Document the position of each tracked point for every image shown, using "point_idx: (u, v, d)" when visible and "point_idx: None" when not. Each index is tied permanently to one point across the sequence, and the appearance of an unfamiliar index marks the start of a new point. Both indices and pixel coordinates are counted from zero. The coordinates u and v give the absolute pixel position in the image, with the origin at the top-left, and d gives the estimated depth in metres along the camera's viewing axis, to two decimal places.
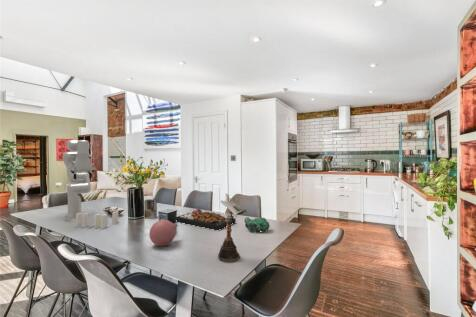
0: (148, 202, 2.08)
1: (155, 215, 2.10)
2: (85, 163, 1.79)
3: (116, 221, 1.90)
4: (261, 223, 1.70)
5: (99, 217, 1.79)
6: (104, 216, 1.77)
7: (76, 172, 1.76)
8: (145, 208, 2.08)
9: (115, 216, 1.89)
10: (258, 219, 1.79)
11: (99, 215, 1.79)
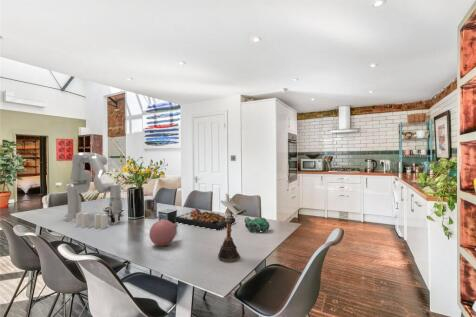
0: (148, 202, 2.08)
1: (155, 215, 2.10)
2: None
3: (116, 221, 1.90)
4: (261, 223, 1.70)
5: (99, 217, 1.79)
6: (104, 216, 1.77)
7: None
8: (145, 208, 2.08)
9: (115, 216, 1.89)
10: (258, 219, 1.79)
11: (99, 215, 1.79)
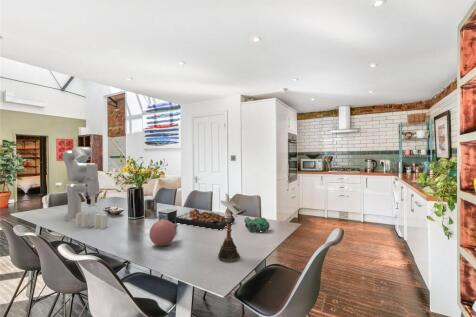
0: (148, 202, 2.08)
1: (155, 215, 2.10)
2: None
3: (92, 203, 1.79)
4: (261, 223, 1.70)
5: (99, 217, 1.79)
6: (104, 216, 1.77)
7: None
8: (145, 208, 2.08)
9: (91, 198, 1.79)
10: (258, 219, 1.79)
11: (99, 215, 1.79)
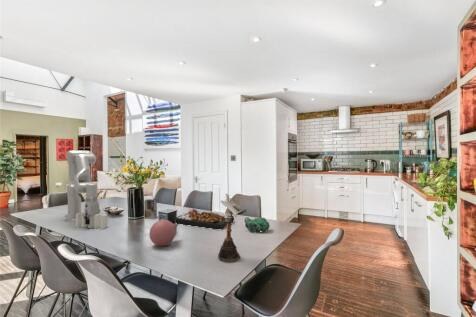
0: (148, 202, 2.08)
1: (155, 215, 2.10)
2: None
3: (92, 224, 1.80)
4: (261, 223, 1.70)
5: (99, 217, 1.79)
6: (104, 216, 1.77)
7: None
8: (145, 208, 2.08)
9: (91, 218, 1.79)
10: (258, 219, 1.79)
11: (99, 215, 1.79)
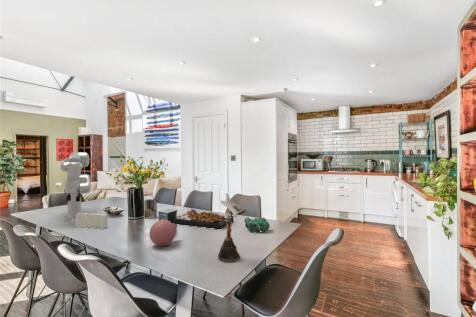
0: (148, 202, 2.08)
1: (155, 215, 2.10)
2: None
3: (92, 224, 1.80)
4: (261, 223, 1.70)
5: (99, 217, 1.79)
6: (104, 216, 1.77)
7: None
8: (145, 208, 2.08)
9: (91, 218, 1.79)
10: (258, 219, 1.79)
11: (99, 215, 1.79)
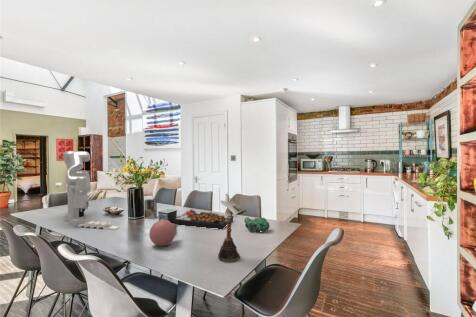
0: (148, 202, 2.08)
1: (155, 215, 2.10)
2: None
3: (95, 226, 1.79)
4: (261, 223, 1.70)
5: None
6: None
7: None
8: (145, 208, 2.08)
9: (99, 225, 1.78)
10: (258, 219, 1.79)
11: (109, 224, 1.78)
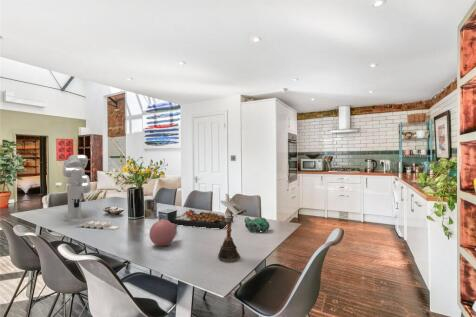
0: (148, 202, 2.08)
1: (155, 215, 2.10)
2: None
3: (95, 226, 1.79)
4: (261, 223, 1.70)
5: None
6: None
7: None
8: (145, 208, 2.08)
9: (99, 225, 1.78)
10: (258, 219, 1.79)
11: (109, 224, 1.78)
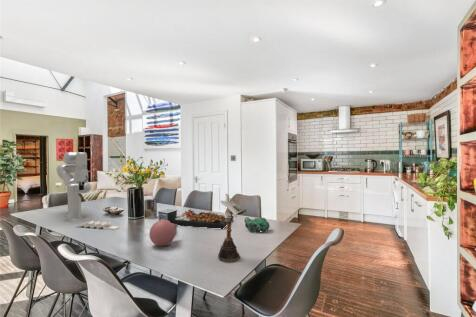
0: (148, 202, 2.08)
1: (155, 215, 2.10)
2: None
3: (95, 226, 1.79)
4: (261, 223, 1.70)
5: None
6: None
7: None
8: (145, 208, 2.08)
9: (99, 225, 1.78)
10: (258, 219, 1.79)
11: (109, 224, 1.78)
